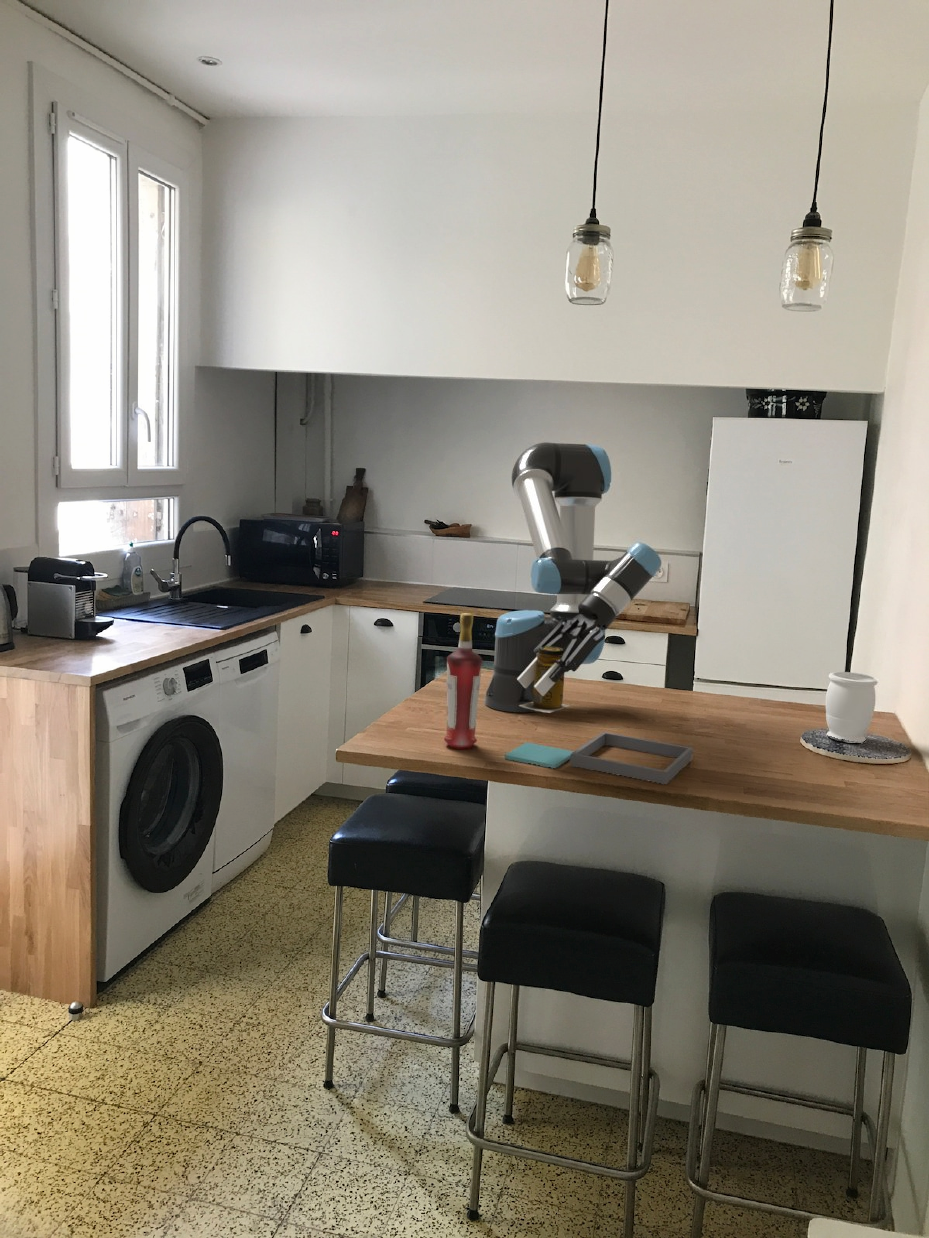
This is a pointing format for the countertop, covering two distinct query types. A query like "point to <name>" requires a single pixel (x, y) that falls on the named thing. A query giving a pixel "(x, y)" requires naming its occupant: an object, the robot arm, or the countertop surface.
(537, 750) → the coaster
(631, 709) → the countertop surface
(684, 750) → the frame
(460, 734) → the liquor
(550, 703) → the condiment
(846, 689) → the jar
